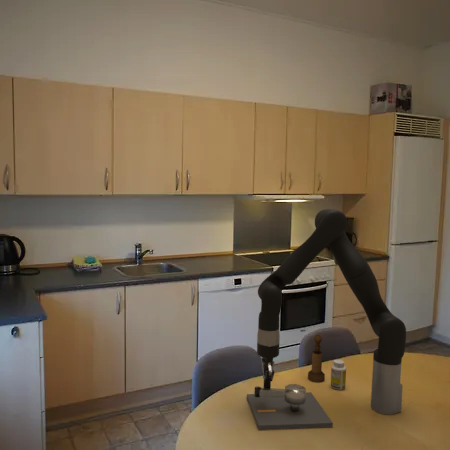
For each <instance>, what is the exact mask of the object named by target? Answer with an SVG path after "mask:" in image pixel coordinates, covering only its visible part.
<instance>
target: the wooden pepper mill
mask: <svg viewBox="0 0 450 450" xmlns="http://www.w3.org/2000/svg"><path fill="white" fill-rule="evenodd" d="M313 340H314V342H315V345H314V349H315V350H312V356H311V369H310V370H309V371H308V372H307V379H308V380H309V381H310V382H313V383H323V382H324V381H325V377H326V376H325V375H326V374H325V373H324V372H323V371H322V365H323V351H322V350H321V346H320V344H321V342H322V341H323V337H322V336H321V335H320V334H316V335H314V337H313Z"/></svg>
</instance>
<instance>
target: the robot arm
mask: <svg viewBox="0 0 450 450" xmlns="http://www.w3.org/2000/svg"><path fill="white" fill-rule="evenodd" d="M314 226H315V229H314V231H313V232H312V234H311V235H310V236H309V237H308V238H307V239H306V240H305V241H303V243H302V244H300V245H299V246H298V247H296V248H295V249H294V250H293V251H292V252H291V253H290V254H289V255H288V256H287V257H286V258H285V259H284V260H283V261H282V263H281V264H280V265H279V266H278V267H277V269H276V270H275V271H273V272H272V273H271V274H270V275H268V276H267V277H266V278H265V279H264V280H263V281H262V282H260V285H259V286H258V288H257V296H258V297H259V299H260V302H261V304H260V305H261V307H260V308H261V309H260V312H259V313H258V321H257V322H258V323H257V325H258V327H257V328H258V329H257V337H256V338H257V339H256V340H257V341H256V342H257V343H256V355H258V356H259V357H261V358H260V361H261V362H260V363H261V373H262V379H263V388H272V386H271V385H272V384H271V383H272V382H273V379H274V376H275V370H274V368H275V361H274V358H275V359H276V358H277V357H278V356H279V355H280V338H281V337H280V314H281V310H282V302H283V293H282V290H283V289H284V288H285V287H287V286H289V285H292V284H293V283H294V282H296V280H297V279H298V278H299V277H300V275H301V274H302V273H303V272H304V270H305V269H306V268H307V267H308V266H309V265H310V264H311V263H312V262H313V260H314V259H316V257H318V255H319V254H320V253H321V252H322V251H324V250H325V249H326V248H327V247H328V248H329V249H330V251H331V253H332V255H333V257H334V259H335V261H336V263H337V266H338V267H339V269H340V271H341V273H342V275H343V277H344V279H345V281H346V282H347V284H348V287H349V288H350V290H351V291H352V293H353V294H354V297H356V299H357V301H358V302H359V303H360V306H361V307H362V308H363V310H364V312H365V315H366V317H367V319H368V322H369V324H370V326H371V329H372V330H373V332H374V334H375V335H376V336H377V337H378V344H377V346H378V347H377V348H376V349H375V350H374V351H373V354H372V355H373V356H372V375H371V377H372V379H371V393H370V408H371V409H372V410H373V411H374V412H376V413H379V414H382V415H389V416H390V415H396V414H398V413H401V412H402V405H403V404H402V403H403V387H404V386H403V384H402V383H401V375H402V360H403V357H404V355H405V352H406V351H405V350H406V341H407V340H406V339H407V329H406V325H405V323H404V322H403V320H402V319H400V318H399V317H397V316H396V315H394V314H393V313H392V312H391V310H390V309H389V307H387V305H386V304H385V302H384V300H383V298H382V295H381V292H380V289H379V284H378V281H377V278H376V275H375V274H374V271H373V270H372V267H370V265H369V263H368V261H367V260H366V259H365V257H364V256H363V255H362V254H361V253H360V251H359V250H358V249H357V248H356V247H355V246H354V245H353V243H352V242H351V241H350V239H349V238H348V235H347V233H346V231H345V230H346V229H347V226H348V219H347V216H346V215H345V214H344V212H342V211H341V210H338V209H335V208H334V209H331V208H325V209H322V210H319V211H318V212H317V213H316V215H315V218H314Z"/></svg>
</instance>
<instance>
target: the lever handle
mask: <svg viewBox="0 0 450 450" xmlns="http://www.w3.org/2000/svg"><path fill="white" fill-rule="evenodd" d="M253 392H254V393H253V394H254V396H255V397H272V398H284V400H285V401H286V402H287V403H289V404H290V410H291V411H294V412H297V411H299V405H302V404H304V403H305V402H306V392H307V388H306V387H305V386H304V385H301V384H294V383H290V384H287V385H285V387H284V388H277V387H276V388H273V387H271V388H264V387H262V386H255V387H254V391H253Z"/></svg>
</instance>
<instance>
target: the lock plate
mask: <svg viewBox="0 0 450 450" xmlns="http://www.w3.org/2000/svg"><path fill="white" fill-rule="evenodd" d="M246 400H247V402H248V406H249V408H250V410H251V413H252V416H253V419H254V421H255V424H256V427H257V429H258V431H271V430H272V431H274V430H298V429H301V430H302V429H303V430H304V429H323V428H324V429H326V428H333V424H334V422H333V421H332V420H331V418H330V417H329V415H328V414H327V413H326V411H325V409H324V408H323V407H322V405H321V404H320V403H319V401H318V400H317V398H316V396H314V393H312V392H310V391H308V392H307V391H306V402H305V403H304V404H302V405H299V411H297V412H294V411H291V410H290V404H289V403H287V402H286V401H285V400H284V398H272V397H255V396H254V393H247V394H246Z"/></svg>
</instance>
